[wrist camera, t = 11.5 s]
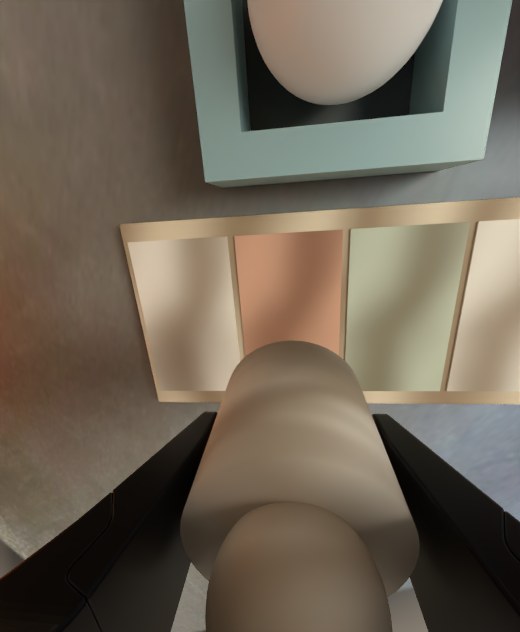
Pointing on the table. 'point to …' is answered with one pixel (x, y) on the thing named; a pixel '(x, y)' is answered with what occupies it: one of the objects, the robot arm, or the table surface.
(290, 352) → the pawn
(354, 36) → the white ball
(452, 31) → the housing
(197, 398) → the game board
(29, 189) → the table surface
